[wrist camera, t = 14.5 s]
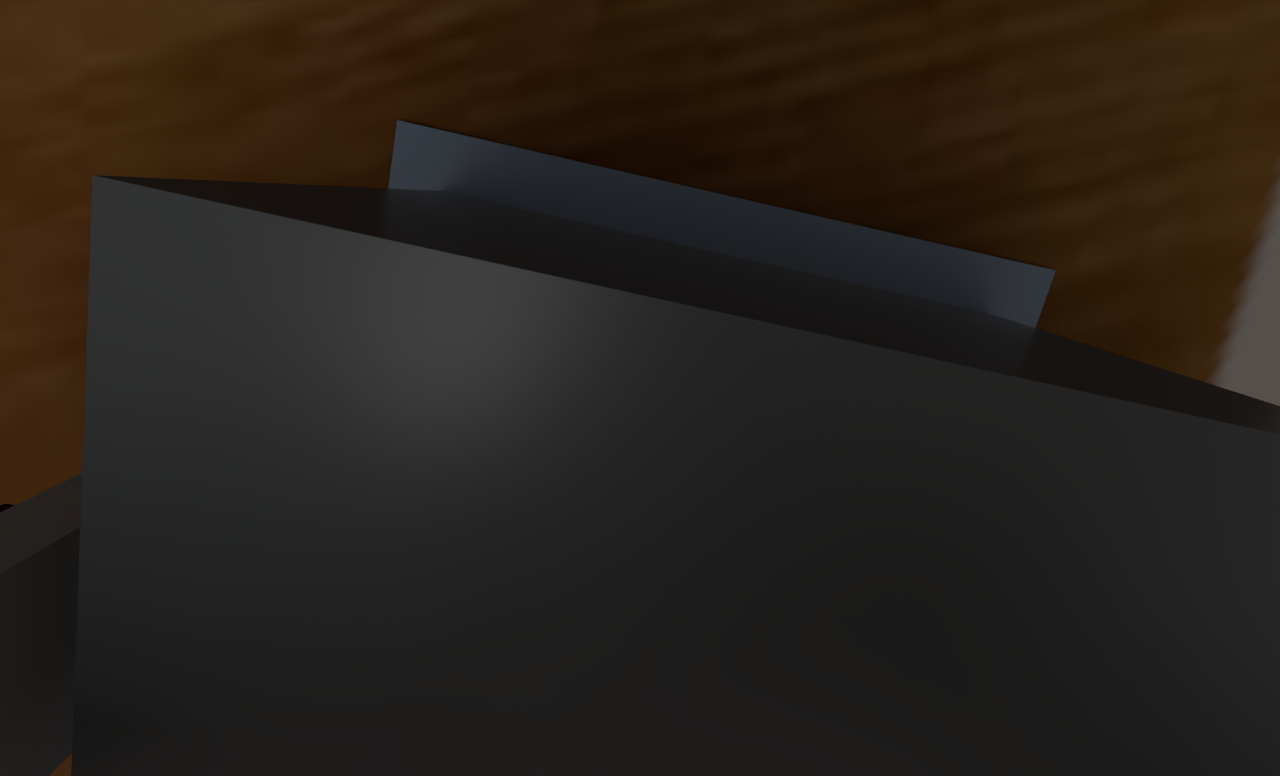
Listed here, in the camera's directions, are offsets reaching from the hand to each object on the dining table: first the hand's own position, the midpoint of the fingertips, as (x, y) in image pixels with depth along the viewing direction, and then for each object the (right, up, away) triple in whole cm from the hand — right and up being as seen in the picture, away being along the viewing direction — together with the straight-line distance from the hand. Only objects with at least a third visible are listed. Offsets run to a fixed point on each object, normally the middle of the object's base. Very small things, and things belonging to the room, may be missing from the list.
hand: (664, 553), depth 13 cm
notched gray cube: (0, 0, +2) cm, 2 cm away
